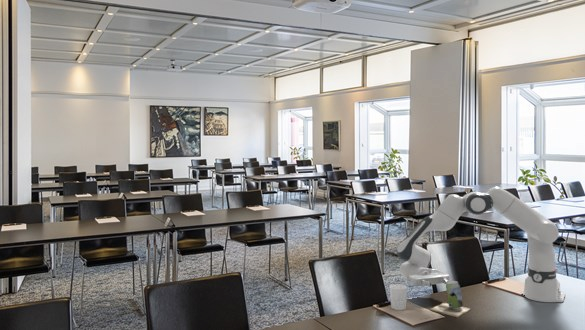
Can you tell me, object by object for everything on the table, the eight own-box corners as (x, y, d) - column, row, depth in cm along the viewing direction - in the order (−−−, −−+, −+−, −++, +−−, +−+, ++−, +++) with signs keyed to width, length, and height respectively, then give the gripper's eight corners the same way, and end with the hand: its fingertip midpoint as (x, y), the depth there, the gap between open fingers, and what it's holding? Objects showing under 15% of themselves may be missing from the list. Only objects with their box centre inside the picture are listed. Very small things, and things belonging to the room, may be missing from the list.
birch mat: (444, 303, 226) (444, 302, 226) (470, 310, 216) (470, 308, 216) (430, 310, 216) (430, 309, 216) (457, 317, 207) (457, 315, 207)
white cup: (408, 306, 222) (408, 285, 222) (405, 311, 215) (405, 289, 215) (391, 304, 225) (391, 283, 225) (387, 309, 218) (387, 287, 218)
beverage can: (464, 310, 215) (464, 283, 214) (448, 310, 215) (448, 283, 215) (460, 305, 221) (460, 279, 221) (444, 305, 221) (444, 279, 221)
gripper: (403, 271, 235) (419, 278, 222) (439, 268, 241) (456, 274, 228) (403, 284, 235) (419, 292, 222) (439, 280, 241) (456, 287, 228)
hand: (438, 283), depth 225 cm, fingers open, 8 cm apart
